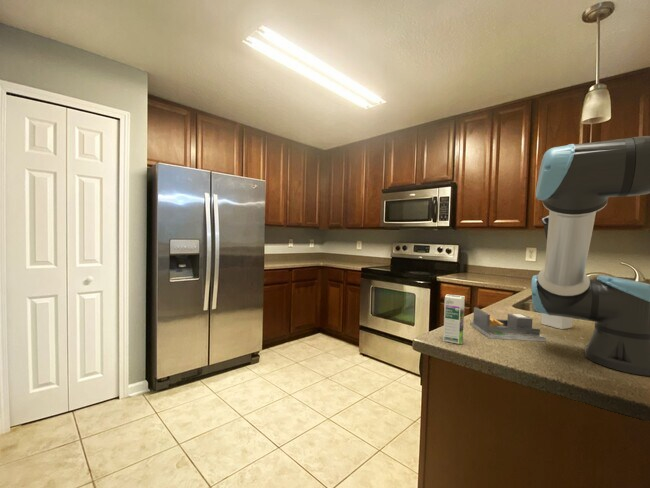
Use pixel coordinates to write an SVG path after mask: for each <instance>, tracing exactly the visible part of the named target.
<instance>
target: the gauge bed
mask: <svg viewBox="0 0 650 488" xmlns="http://www.w3.org/2000/svg"><path fill="white" fill-rule="evenodd" d="M490 318H491V315H490V314H489V313H488V312H485V311H483V310H482V309H480V308H479V307H473V320H472V321H470V323H469V325H470V326H472V327H473V328H474V329H476V330H477V331H478V332H480V333H481V334H483V336H485V337H487V339H494V340H496V339H497V340H513V341H514V340H517V341H531V342H532V341H533V342H534V341H535V342H546V341H547V337H546V336H544V335H542V334H541V329H540V328H538V327H532V328H525V327H509V326H507V319H504V318H503V319H502V318H501V319H500V318H499V319H498V318H495V319H496V320H497V321H499V322H501V323H503V326H501V325H499V324H497V326H489V324H490Z"/></svg>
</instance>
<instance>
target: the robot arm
mask: <svg viewBox="0 0 650 488" xmlns="http://www.w3.org/2000/svg"><path fill="white" fill-rule="evenodd" d="M537 176H538V179H537V183H536V189H535V199H537V200H538V201H539V200H540V201H542V205H543V206H544V208H545V209H546V210H547V211H549V212H548V214H547V216H545V217H542V218H541V219H540V222H541V223H542V224H543V229H544V234H545V239H546V250H545V263H544V268H542V269H541V270H540V271H539V272H538V274H536V275H535V274H534V275H533V276H532V278H531V285H530V286H531V288H530V289H531V302H532V305H533V309H534V310H535V312H537V313H539V314H542V313H544V314H548V315H551V316H552V315H554V316H561V317H569V318H573V319H577V320H584V321H589V322H594V329H593V332H592V334H591V336H590V339H589V341H588V342H587V344H586V345H585V347H584V356H585V358H587V359H588V360H590V361H592V362H593V363H595V364H598V365H601V366H603V367H606V368H609V369H613V370H616V371H619V372H623V373H628V374H633V375H637V376H647V377H650V283H645V282H641V281H637V280H633V279H627V278H621V277H615V276H611V275H610V276H608V275H598V276H597V277H596V280H595V279H590V278H589V276H588V275H587V274H586V265H587V261H588V256H589V251H590V245H591V240H592V237H593V231H594V225H595V220H596V214H597V212H600V211H601V210H603V209H604V208H605V207H606V206H607V204H608V201H609V198H617V197H619V198H622V197H624V198H625V197H636V196H644V195H648V194H650V135H642V136H633V137H628V138H619V139H610V140H609V139H608V140H603V141H602V140H601V141H594V142H585V143H569V144H567V145H561V146H554V147H551V148H550V149H547V150H546V151H545V152H544V154H543V155H542V159H541V163H540V167H539V172H538V175H537Z"/></svg>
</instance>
